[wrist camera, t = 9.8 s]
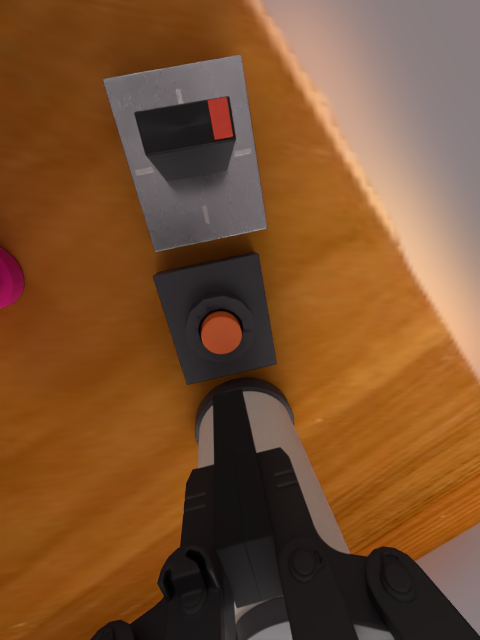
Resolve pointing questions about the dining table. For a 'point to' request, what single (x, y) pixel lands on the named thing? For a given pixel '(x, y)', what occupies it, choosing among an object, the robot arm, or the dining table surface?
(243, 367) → the push button box
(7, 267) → the pepper mill
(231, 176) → the lever switch base
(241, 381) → the kettle
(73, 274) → the dining table surface
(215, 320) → the red push button
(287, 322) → the dining table surface
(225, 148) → the black switch lever
